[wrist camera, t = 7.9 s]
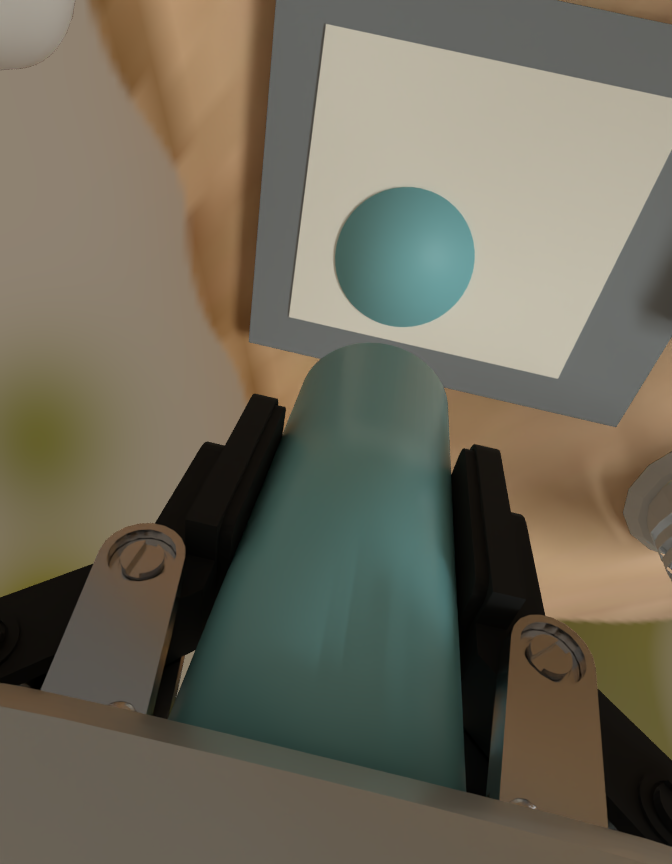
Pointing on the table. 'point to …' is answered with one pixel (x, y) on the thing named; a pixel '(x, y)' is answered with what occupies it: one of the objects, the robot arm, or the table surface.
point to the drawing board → (472, 194)
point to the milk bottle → (32, 30)
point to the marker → (345, 582)
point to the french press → (652, 509)
